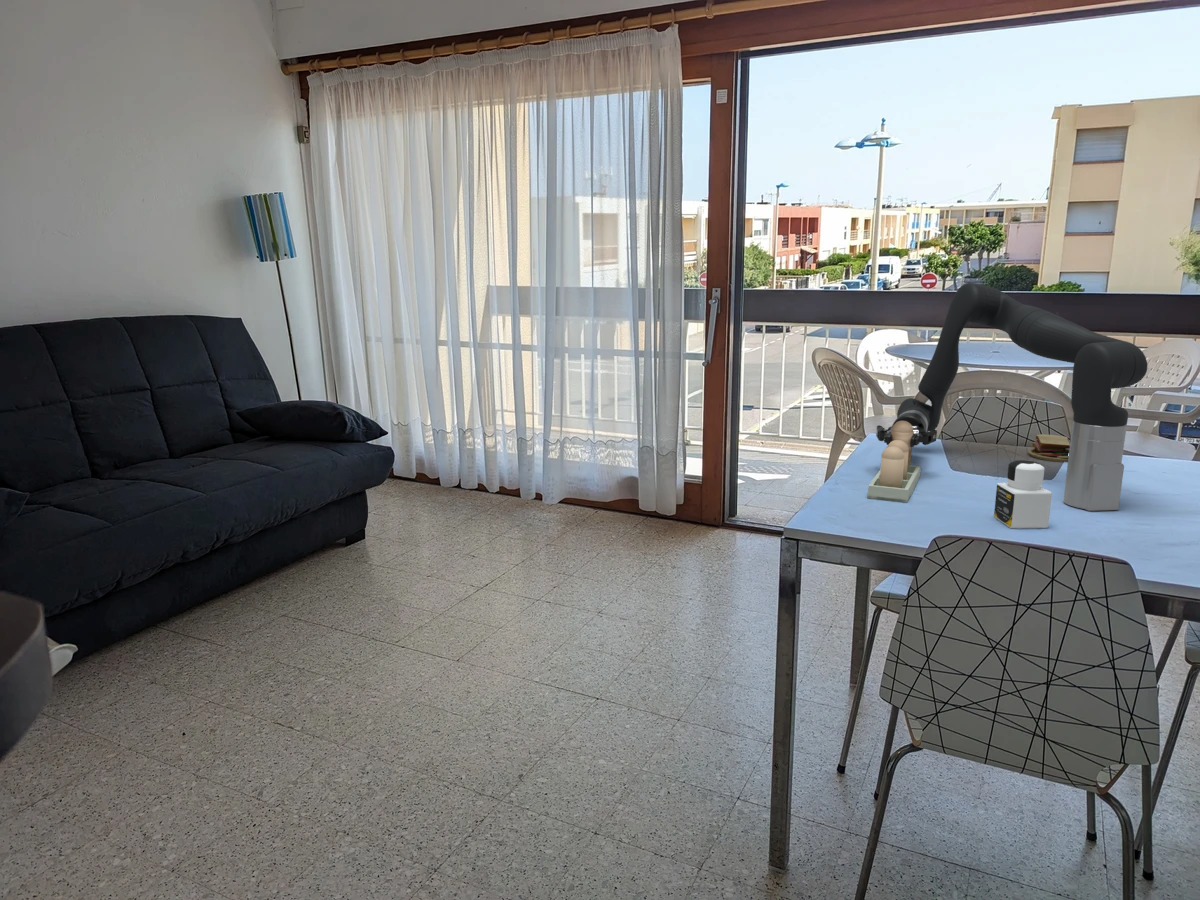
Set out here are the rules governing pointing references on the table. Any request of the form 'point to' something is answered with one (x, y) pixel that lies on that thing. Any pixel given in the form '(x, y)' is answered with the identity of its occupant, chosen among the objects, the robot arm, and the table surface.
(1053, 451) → the toy sandwich meal
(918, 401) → the robot arm
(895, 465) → the compartment tray
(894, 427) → the round-topped wooden peg
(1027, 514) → the medicine bottle
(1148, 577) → the table surface
